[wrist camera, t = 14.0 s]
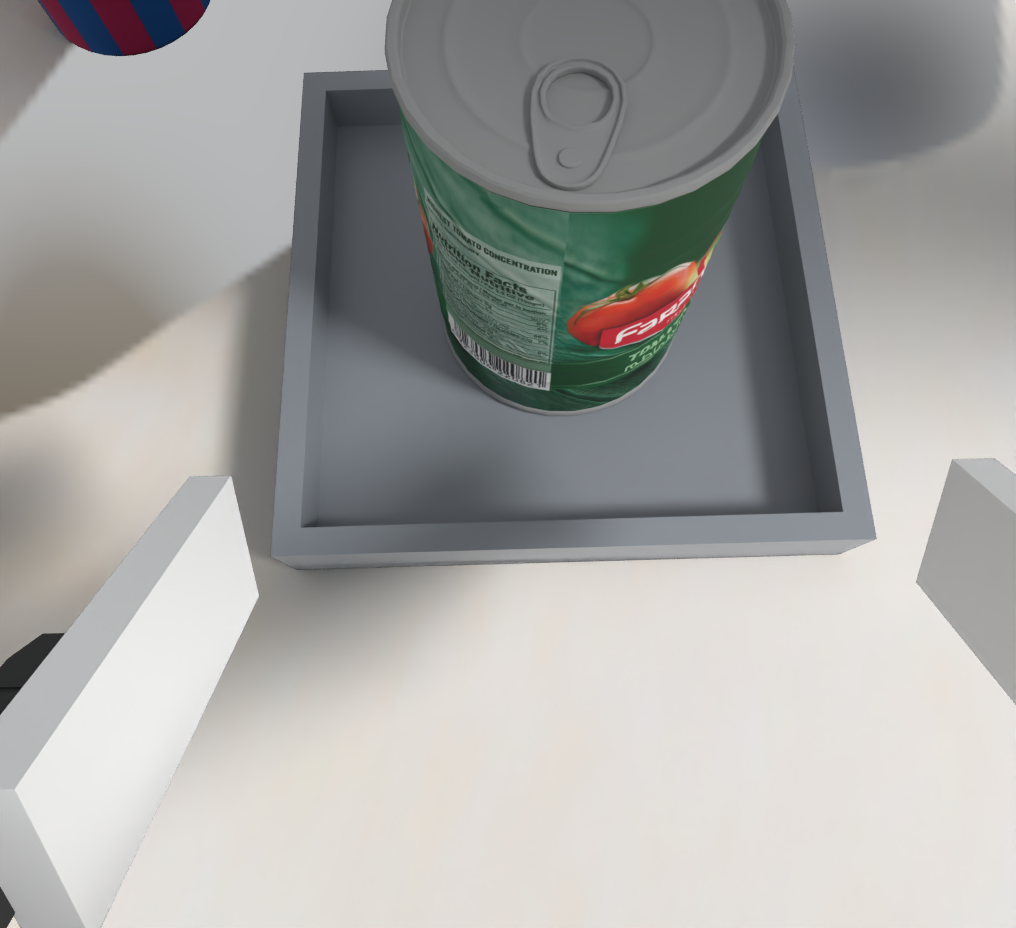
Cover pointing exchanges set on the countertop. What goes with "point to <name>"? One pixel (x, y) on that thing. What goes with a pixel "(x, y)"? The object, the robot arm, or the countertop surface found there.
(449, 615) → the countertop surface
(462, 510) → the tray
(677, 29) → the canned tomato
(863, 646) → the countertop surface
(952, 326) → the countertop surface
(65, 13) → the mug
